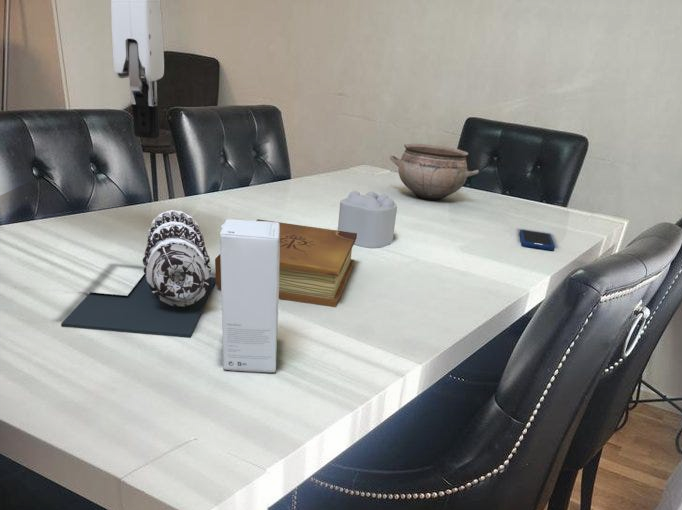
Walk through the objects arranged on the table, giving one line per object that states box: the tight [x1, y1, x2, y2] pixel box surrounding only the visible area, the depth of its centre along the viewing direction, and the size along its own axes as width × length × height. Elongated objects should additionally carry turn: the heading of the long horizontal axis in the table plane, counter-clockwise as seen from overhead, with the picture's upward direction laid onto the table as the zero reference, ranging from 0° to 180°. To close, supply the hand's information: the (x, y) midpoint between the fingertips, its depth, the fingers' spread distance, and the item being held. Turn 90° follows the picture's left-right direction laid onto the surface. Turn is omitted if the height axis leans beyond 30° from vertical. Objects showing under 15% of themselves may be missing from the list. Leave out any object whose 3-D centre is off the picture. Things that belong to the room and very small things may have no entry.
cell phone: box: [519, 229, 556, 251], centre depth 149 cm, size 7×14×1 cm, turn 171°
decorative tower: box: [142, 209, 212, 306], centre depth 95 cm, size 9×9×25 cm
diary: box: [214, 218, 357, 308], centre depth 107 cm, size 23×19×6 cm
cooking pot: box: [389, 143, 480, 201], centre depth 177 cm, size 25×19×12 cm
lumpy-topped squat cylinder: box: [337, 190, 398, 249], centre depth 133 cm, size 10×13×9 cm
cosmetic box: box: [219, 218, 280, 373], centre depth 75 cm, size 8×7×16 cm
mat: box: [60, 273, 216, 338], centre depth 92 cm, size 16×24×1 cm, turn 2°
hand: (147, 136), depth 93 cm, fingers closed
